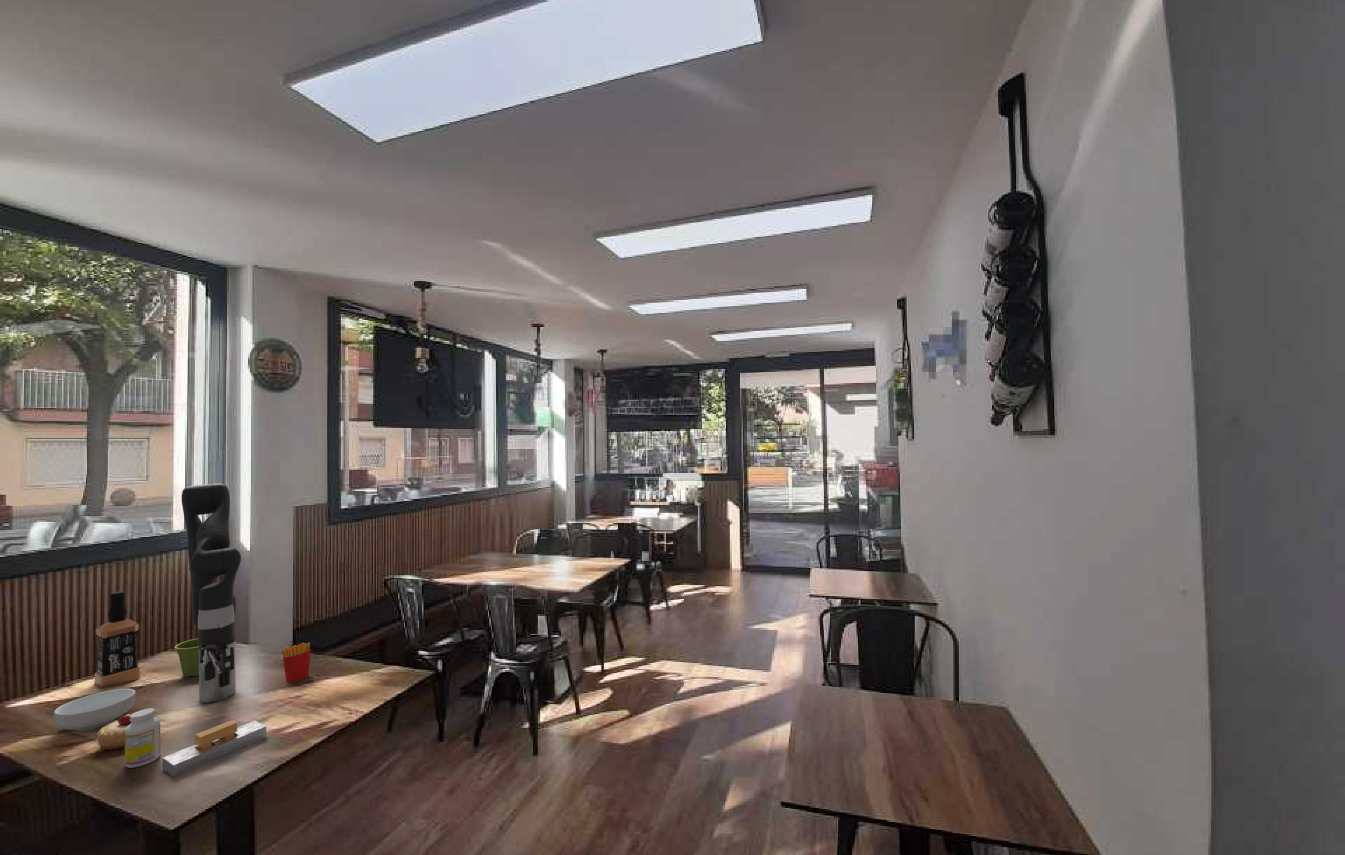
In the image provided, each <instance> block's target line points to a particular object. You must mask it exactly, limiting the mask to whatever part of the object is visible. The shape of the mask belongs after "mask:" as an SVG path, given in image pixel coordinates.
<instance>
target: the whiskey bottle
mask: <svg viewBox="0 0 1345 855" xmlns="http://www.w3.org/2000/svg"><path fill="white" fill-rule="evenodd" d="M125 594H126V592H125V591H123V590H120V591H119V590H118V591H113V592H111V593H110V595H109V603H110V605H109V606H110V607H109V608H108V611H107V612H108V613H107V617H108V621H107V622H105V623H103V624H102V625H100V626H98V627H97V628H95V635H97V652H96V654H97V655H96V672H95V673H94V684H95V685H96V687H98V688H99V689H100V690H102V689H108V688H111V687H115V686H119V685H122V684H125V683H129V682H133V681H135V680H139V679H141V672H140V667H139V665H138V664H139V663H138V662H139V661H138V656H139V655H138V632H137V631H138V630H139V629H140V626H139V625H140V624H139V623H137V622H135V621H134V620H131V619H129V618H127V613H128V611H127V606H126V604H125V601H126V598H125V597H126V595H125Z"/></svg>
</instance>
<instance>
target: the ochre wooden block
mask: <svg viewBox="0 0 1345 855" xmlns="http://www.w3.org/2000/svg"><path fill="white" fill-rule="evenodd" d="M237 727H238V721H237V722H236V721H235V720H233V719H231V720H230V721H225V722H223V723H221V724H219V725H215V726H214V727H210V728H208V729H206V730H203V731H201V732H199V733H195V743H194V745H195V744H197V745H199V751H203V750H205V749H207V748H210V747H211V742H213V741H215V740H217V739H220V738H222V741H227V740H229V739H231V738H234V732H237Z"/></svg>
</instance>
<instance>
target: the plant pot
mask: <svg viewBox="0 0 1345 855" xmlns="http://www.w3.org/2000/svg"><path fill="white" fill-rule="evenodd" d="M174 649H175V650H176V652H177V655H178V658H179V663H180V664H179V665H180V666H181V667H180V669H181V673H182V677H184V678H189V677H197V676H199V643H198V638H194V639H193V638H192V639H189V640H185V641H183V642H180V643H178V644H176V645H175V646H174Z"/></svg>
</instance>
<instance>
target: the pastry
mask: <svg viewBox="0 0 1345 855" xmlns="http://www.w3.org/2000/svg"><path fill="white" fill-rule="evenodd" d="M126 710H127V712H128V714H126V713H125V714H123V715H121V716H119V717H118V718H117V719H114V720H113V721H112V722H110V723H109V724H106V725H104V726H101V727H100V729H99V730H98V732H97V733H96V741H97V742H98V743H97V744H98V745H99V746H100V747H101V748H102V749H104V750H109V751H110V750H112V751H113V750H119V749H123V748H124V749H125V729H126V728H127V727H128V726H129V725H130V724H131V721H130V716H131V715H132V714H133V713H134V712H132V713H131V712H130V711H129V710H128V709H127V708H126ZM154 717H157V715H156V714H155V715H154Z"/></svg>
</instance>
